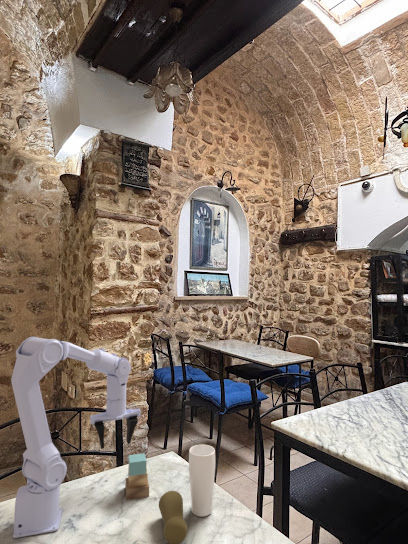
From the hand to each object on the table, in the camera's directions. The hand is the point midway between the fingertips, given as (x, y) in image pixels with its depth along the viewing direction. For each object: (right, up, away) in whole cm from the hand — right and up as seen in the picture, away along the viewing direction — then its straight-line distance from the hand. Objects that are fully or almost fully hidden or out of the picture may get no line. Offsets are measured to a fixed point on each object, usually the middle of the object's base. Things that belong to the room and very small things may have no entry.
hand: (115, 444), depth 99 cm
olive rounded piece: (+18, -6, -16) cm, 25 cm away
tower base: (+8, -11, -6) cm, 14 cm away
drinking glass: (+26, -10, -14) cm, 31 cm away
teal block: (+8, -5, -5) cm, 10 cm away
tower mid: (+8, -8, -5) cm, 12 cm away
